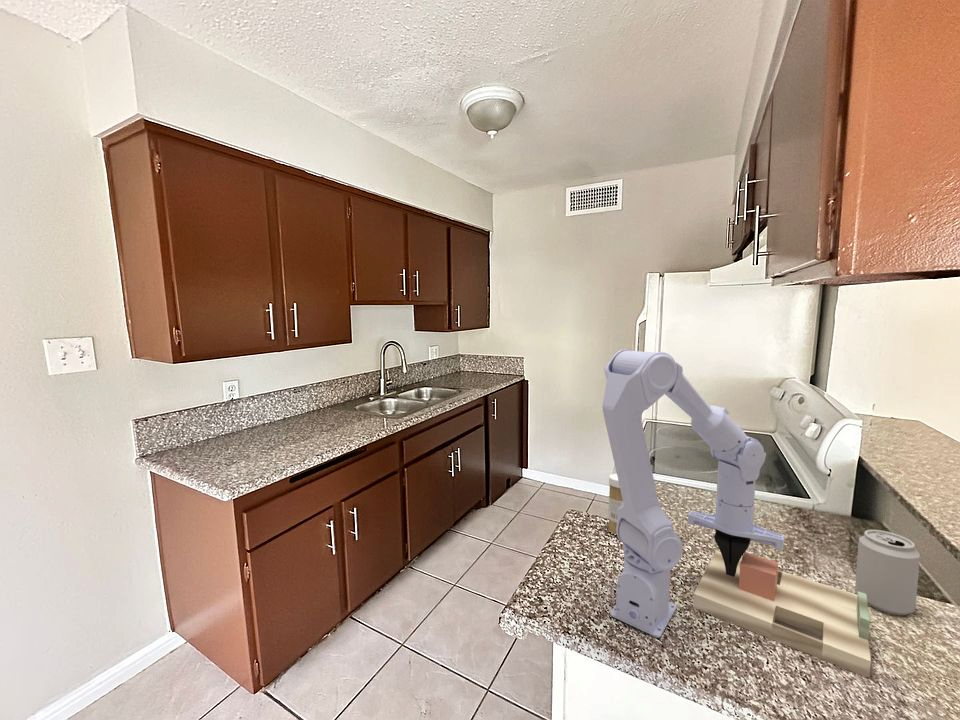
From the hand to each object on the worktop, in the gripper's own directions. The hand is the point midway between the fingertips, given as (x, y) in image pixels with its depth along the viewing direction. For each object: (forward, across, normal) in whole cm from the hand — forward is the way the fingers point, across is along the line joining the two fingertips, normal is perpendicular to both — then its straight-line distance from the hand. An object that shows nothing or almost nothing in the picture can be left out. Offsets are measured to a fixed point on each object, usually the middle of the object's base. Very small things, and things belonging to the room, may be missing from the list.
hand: (731, 573), depth 74 cm
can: (+4, -21, -14) cm, 25 cm away
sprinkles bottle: (+4, +24, -8) cm, 26 cm away
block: (+1, -4, 0) cm, 4 cm away
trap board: (+3, -7, 0) cm, 8 cm away
